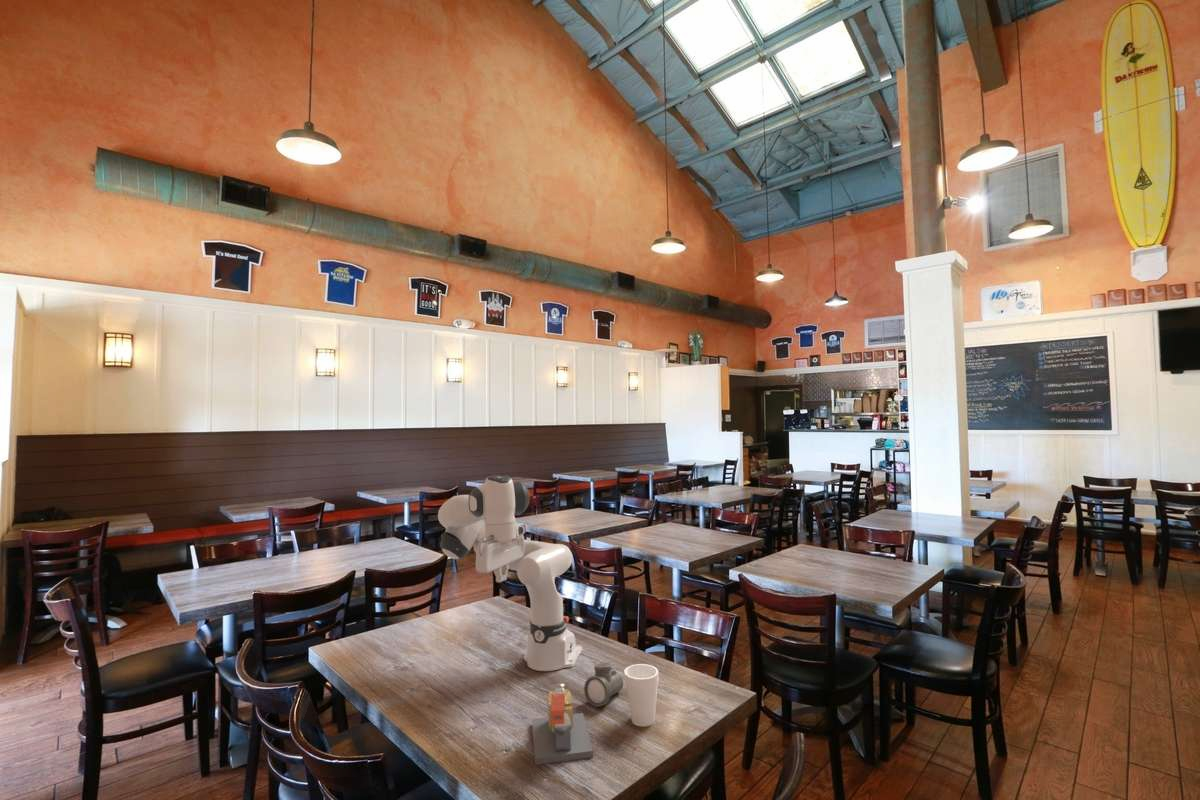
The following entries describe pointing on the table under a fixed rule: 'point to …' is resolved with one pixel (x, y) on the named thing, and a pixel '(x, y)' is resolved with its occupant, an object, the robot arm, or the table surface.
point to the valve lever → (558, 704)
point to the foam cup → (642, 693)
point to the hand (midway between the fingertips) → (501, 581)
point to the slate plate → (546, 741)
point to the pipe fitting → (602, 684)
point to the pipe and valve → (562, 729)
